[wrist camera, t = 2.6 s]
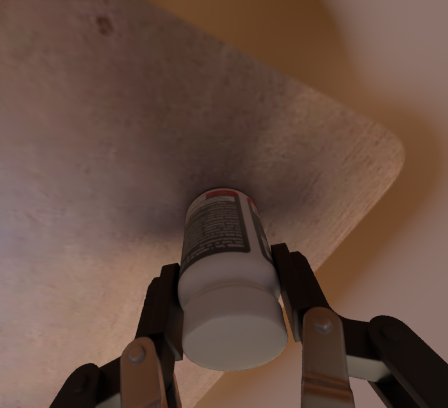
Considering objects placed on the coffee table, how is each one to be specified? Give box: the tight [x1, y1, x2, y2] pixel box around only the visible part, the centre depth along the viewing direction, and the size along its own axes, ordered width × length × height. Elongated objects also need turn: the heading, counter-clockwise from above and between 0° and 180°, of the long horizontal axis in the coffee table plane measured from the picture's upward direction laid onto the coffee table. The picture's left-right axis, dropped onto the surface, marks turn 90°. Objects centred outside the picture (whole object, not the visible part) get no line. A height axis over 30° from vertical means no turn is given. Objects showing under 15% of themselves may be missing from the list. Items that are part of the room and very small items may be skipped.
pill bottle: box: [178, 188, 288, 371], centre depth 12 cm, size 5×5×8 cm
